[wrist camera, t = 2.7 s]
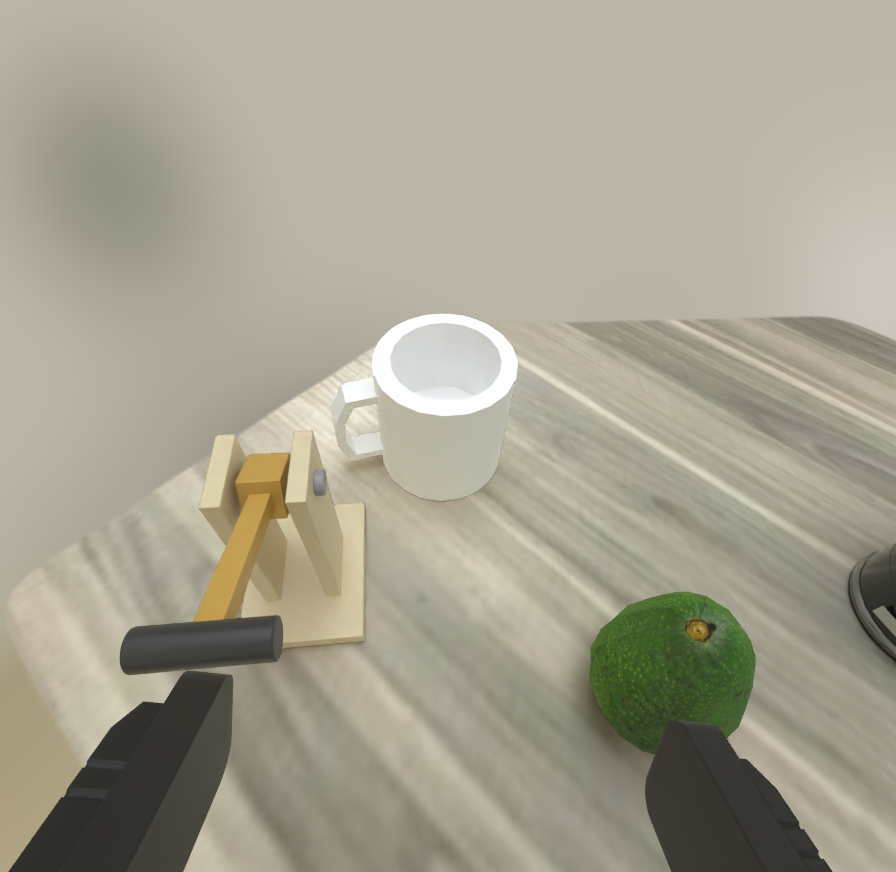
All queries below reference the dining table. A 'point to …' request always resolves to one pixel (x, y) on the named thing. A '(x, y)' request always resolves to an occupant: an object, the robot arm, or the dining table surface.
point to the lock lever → (223, 591)
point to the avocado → (672, 667)
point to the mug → (434, 405)
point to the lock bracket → (297, 548)
